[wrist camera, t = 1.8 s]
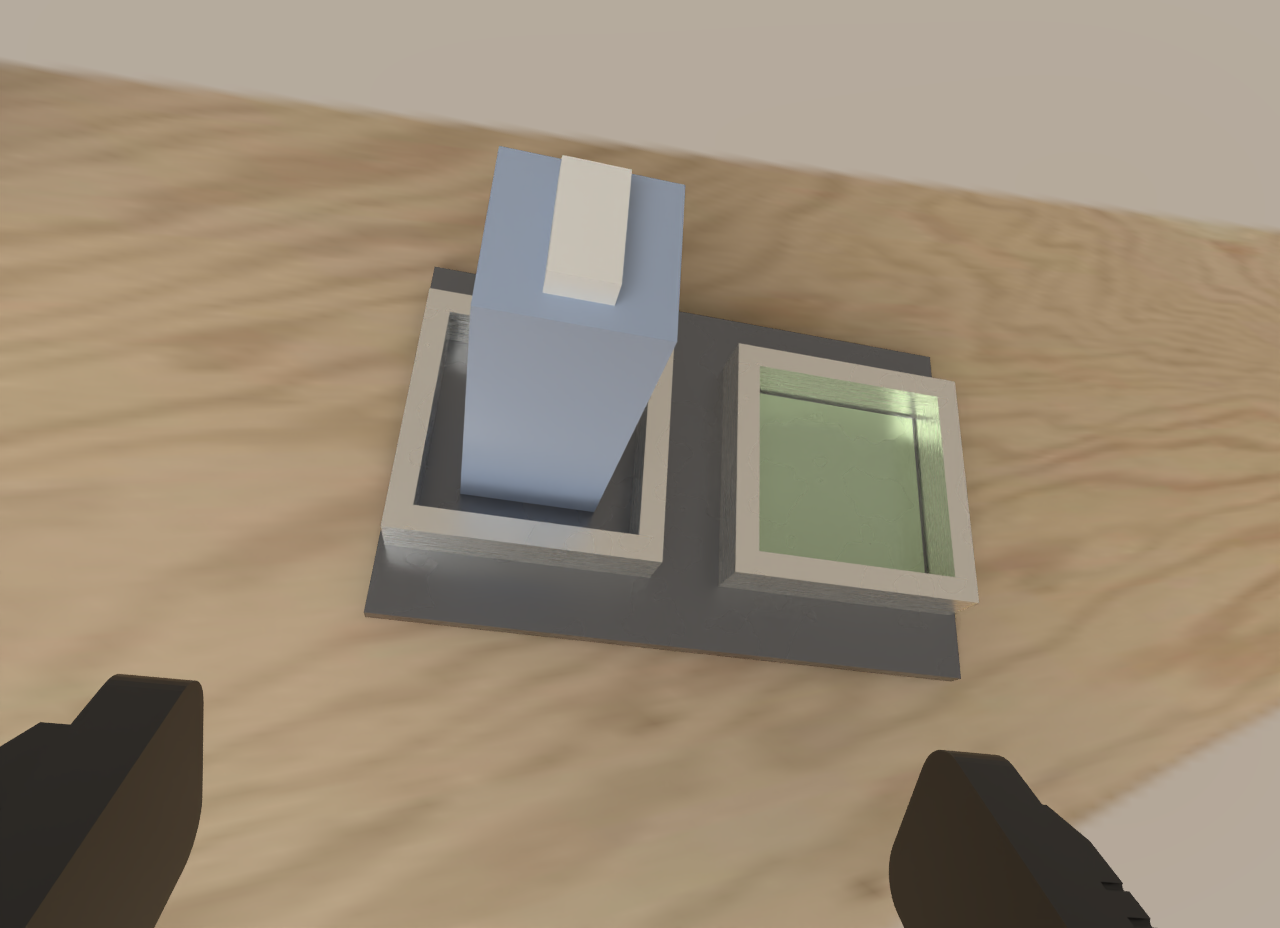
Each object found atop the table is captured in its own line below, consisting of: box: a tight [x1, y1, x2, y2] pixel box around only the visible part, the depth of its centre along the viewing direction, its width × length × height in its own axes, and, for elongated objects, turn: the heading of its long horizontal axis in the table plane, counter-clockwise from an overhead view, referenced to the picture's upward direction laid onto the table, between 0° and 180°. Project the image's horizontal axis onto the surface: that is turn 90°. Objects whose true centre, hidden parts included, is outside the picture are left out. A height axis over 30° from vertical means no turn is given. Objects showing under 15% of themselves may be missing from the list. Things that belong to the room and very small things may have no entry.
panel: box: [364, 267, 979, 681], centre depth 29 cm, size 20×13×2 cm, turn 86°
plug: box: [460, 146, 685, 512], centre depth 23 cm, size 4×4×12 cm
